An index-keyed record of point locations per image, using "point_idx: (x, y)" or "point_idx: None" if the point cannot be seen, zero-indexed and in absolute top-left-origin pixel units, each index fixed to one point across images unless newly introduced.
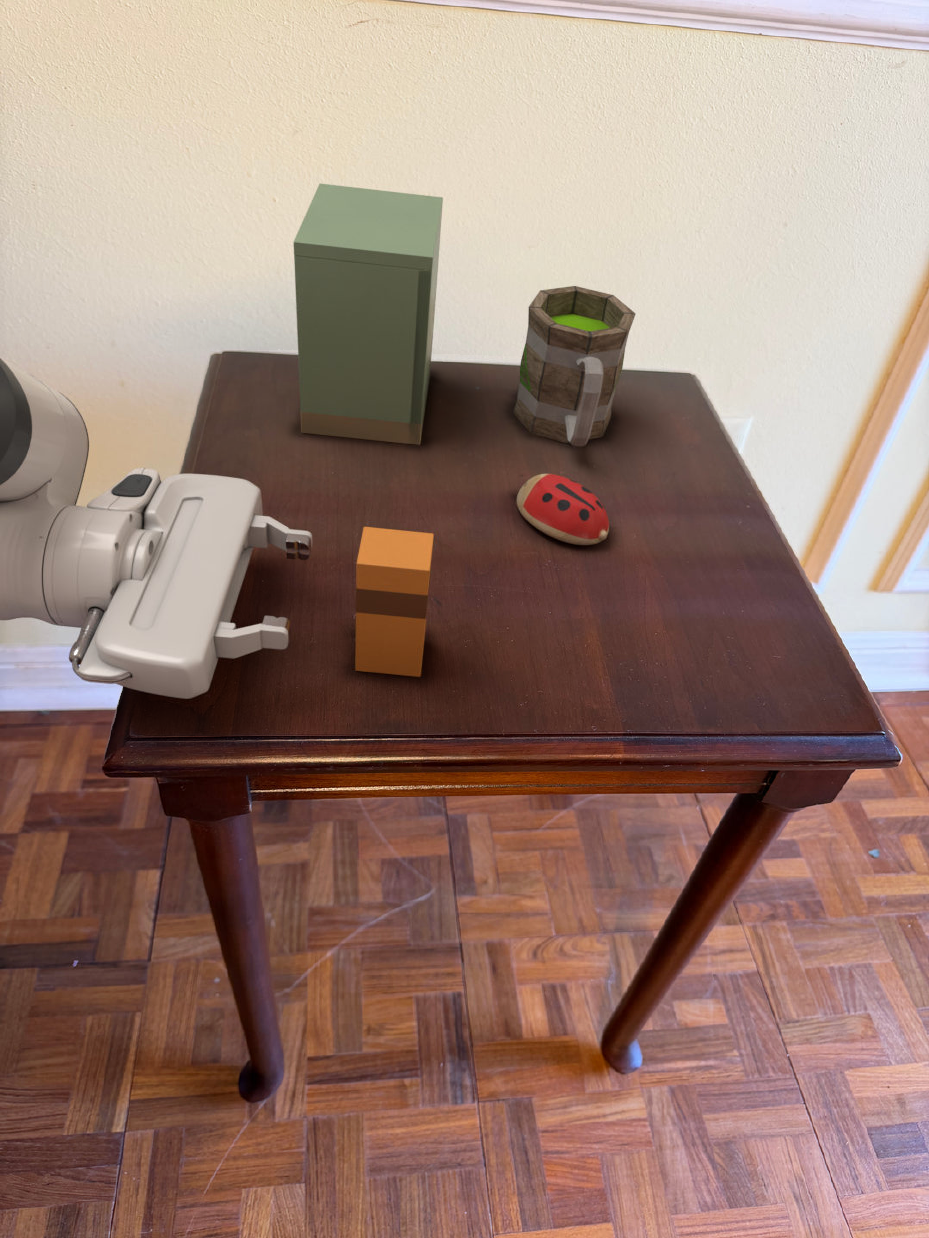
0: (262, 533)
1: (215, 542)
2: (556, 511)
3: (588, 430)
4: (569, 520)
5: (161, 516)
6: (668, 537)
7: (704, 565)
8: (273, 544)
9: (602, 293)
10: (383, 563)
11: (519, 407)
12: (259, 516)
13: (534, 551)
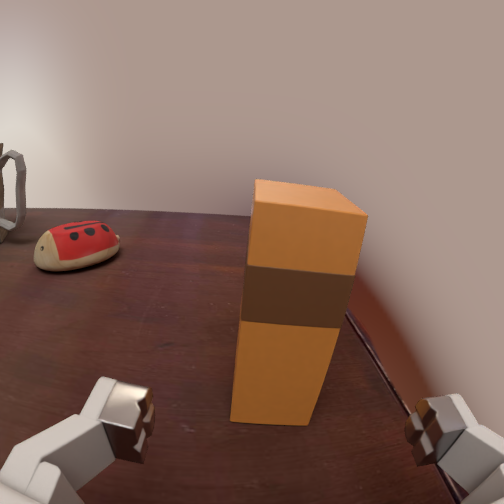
0: (67, 490)
1: None
2: (90, 238)
3: (25, 206)
4: (103, 237)
5: None
6: (120, 230)
7: (151, 226)
8: (79, 486)
9: None
10: (348, 202)
11: None
12: (5, 470)
13: (107, 276)
